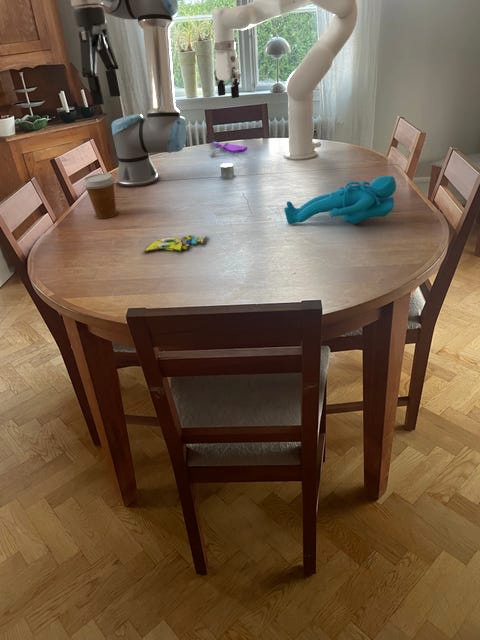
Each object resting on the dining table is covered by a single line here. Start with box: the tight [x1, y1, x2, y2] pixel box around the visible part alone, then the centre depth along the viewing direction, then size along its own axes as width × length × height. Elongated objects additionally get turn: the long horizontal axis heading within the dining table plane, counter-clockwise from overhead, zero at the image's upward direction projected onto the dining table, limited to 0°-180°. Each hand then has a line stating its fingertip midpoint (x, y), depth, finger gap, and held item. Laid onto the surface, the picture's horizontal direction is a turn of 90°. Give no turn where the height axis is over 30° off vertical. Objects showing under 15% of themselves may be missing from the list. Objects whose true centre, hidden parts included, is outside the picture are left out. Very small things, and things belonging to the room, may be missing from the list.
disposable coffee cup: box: [83, 172, 117, 219], centre depth 152 cm, size 10×10×12 cm
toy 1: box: [144, 234, 207, 254], centre depth 130 cm, size 10×1×15 cm
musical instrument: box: [210, 141, 248, 157], centre depth 213 cm, size 24×2×20 cm
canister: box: [220, 162, 235, 180], centre depth 179 cm, size 5×5×4 cm
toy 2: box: [283, 175, 397, 225], centre depth 132 cm, size 17×11×30 cm
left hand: (107, 100), depth 131 cm, fingers open, 13 cm apart
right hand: (228, 96), depth 189 cm, fingers open, 9 cm apart
